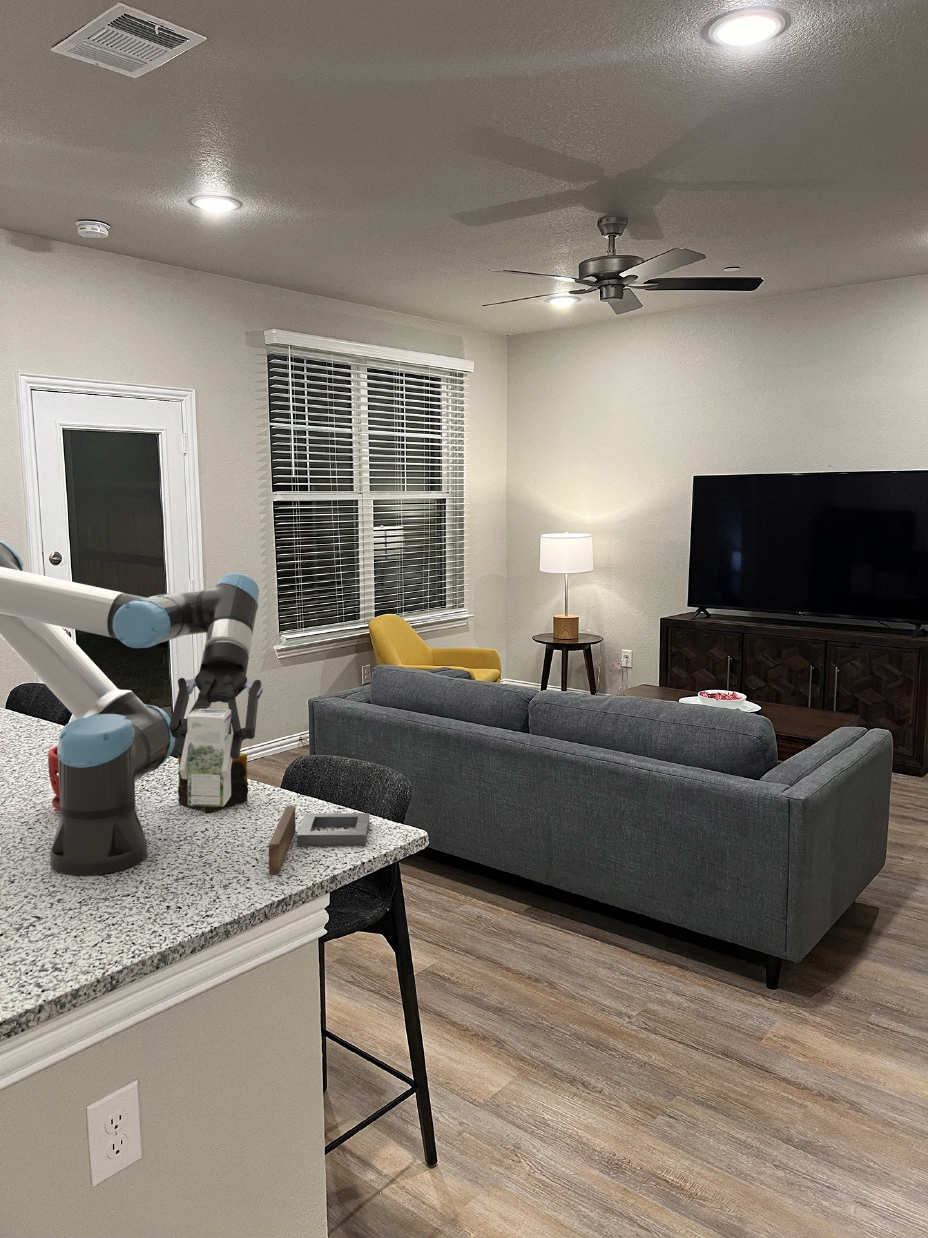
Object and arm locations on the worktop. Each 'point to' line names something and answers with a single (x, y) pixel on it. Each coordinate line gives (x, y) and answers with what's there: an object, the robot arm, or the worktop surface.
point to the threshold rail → (281, 840)
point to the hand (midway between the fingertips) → (204, 774)
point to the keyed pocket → (333, 838)
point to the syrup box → (208, 757)
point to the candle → (237, 786)
